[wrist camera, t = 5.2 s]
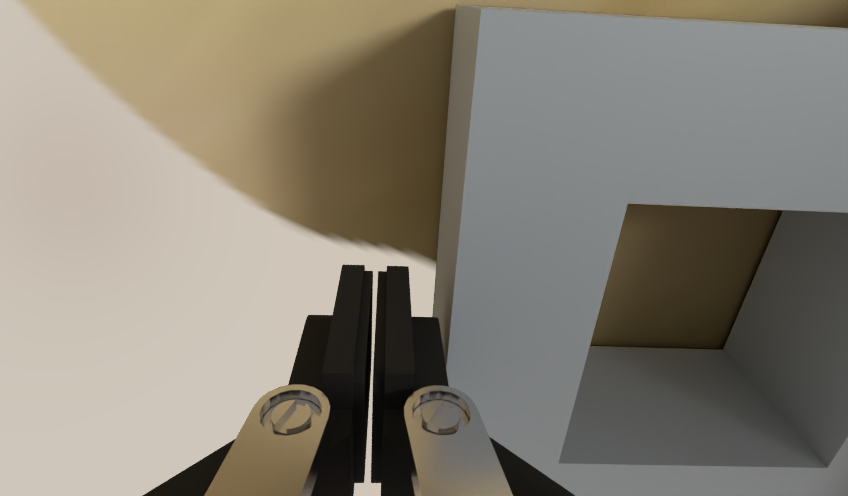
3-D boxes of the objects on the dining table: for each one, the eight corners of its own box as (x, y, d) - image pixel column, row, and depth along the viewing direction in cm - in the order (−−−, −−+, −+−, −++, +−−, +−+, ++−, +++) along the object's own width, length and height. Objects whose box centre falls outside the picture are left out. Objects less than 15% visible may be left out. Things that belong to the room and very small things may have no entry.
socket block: (978, 35, 13) (1278, 56, 8) (774, 415, 19) (882, 540, 15) (455, 4, 12) (480, 8, 8) (425, 408, 19) (430, 536, 14)
